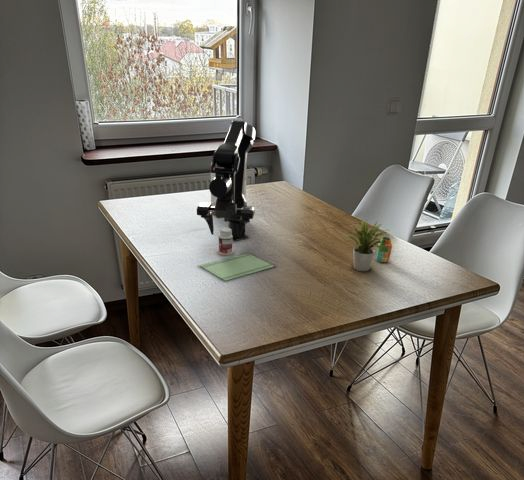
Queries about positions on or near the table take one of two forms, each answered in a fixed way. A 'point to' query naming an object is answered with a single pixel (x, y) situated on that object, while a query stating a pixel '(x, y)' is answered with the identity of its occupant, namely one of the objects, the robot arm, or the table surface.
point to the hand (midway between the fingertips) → (225, 235)
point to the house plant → (365, 246)
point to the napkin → (236, 266)
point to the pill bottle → (225, 241)
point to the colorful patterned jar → (384, 250)
